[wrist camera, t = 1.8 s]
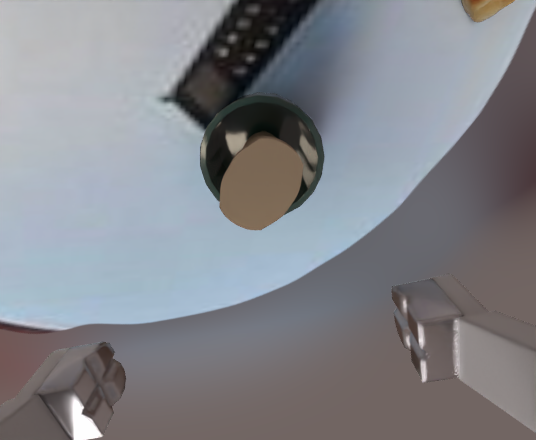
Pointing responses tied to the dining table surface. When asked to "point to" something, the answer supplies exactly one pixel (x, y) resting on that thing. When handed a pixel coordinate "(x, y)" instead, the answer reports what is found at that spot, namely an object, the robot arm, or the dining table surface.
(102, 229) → the dining table surface
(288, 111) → the crock
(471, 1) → the pastry
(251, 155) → the handle
